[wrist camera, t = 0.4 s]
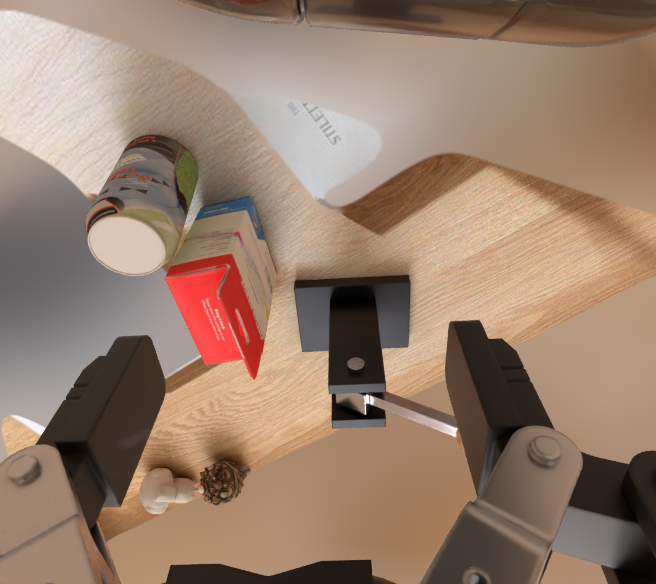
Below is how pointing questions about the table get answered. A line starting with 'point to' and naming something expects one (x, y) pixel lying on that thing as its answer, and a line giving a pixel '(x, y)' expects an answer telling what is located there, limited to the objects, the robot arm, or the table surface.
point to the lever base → (354, 335)
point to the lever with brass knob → (402, 410)
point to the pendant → (221, 482)
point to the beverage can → (142, 206)
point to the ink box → (225, 283)
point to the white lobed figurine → (164, 490)
